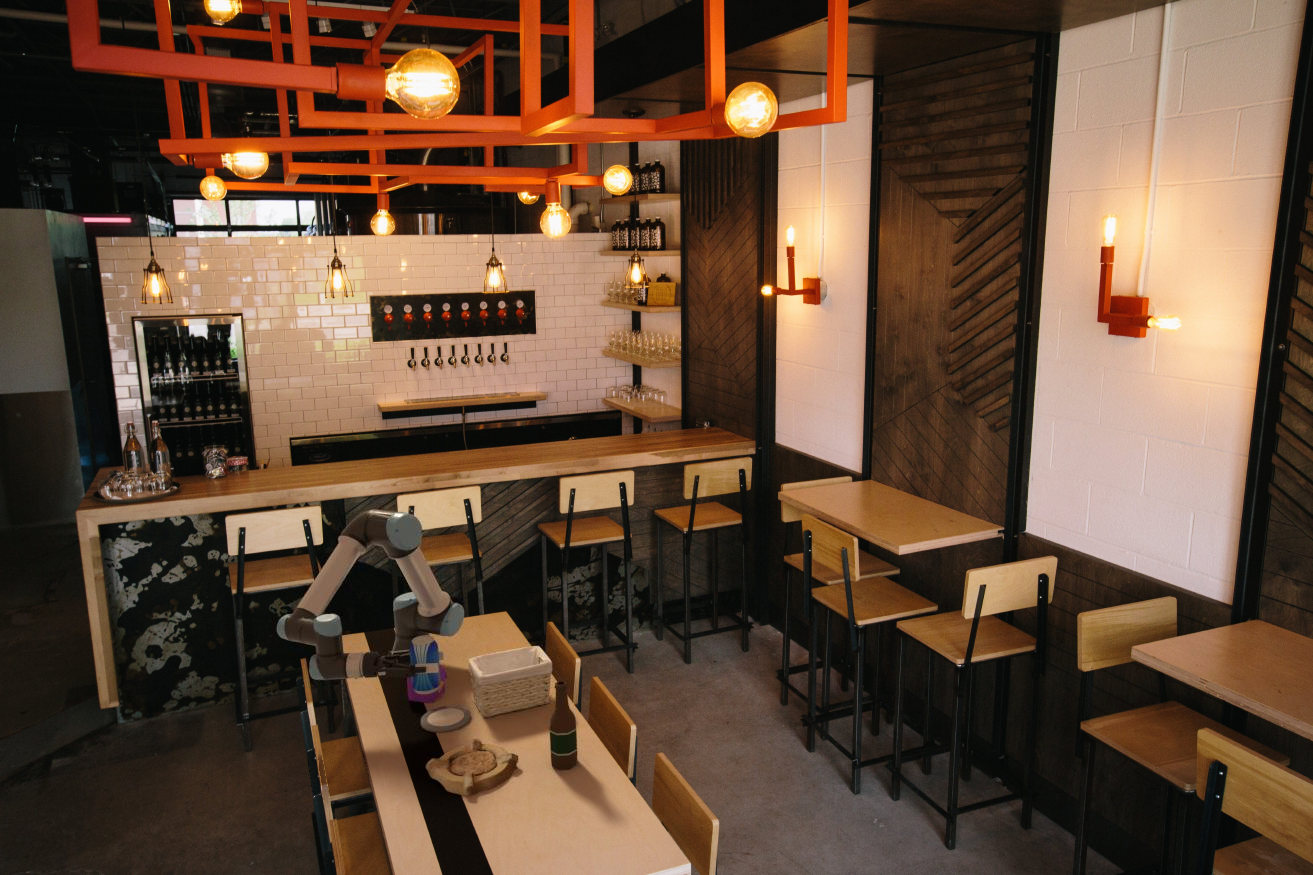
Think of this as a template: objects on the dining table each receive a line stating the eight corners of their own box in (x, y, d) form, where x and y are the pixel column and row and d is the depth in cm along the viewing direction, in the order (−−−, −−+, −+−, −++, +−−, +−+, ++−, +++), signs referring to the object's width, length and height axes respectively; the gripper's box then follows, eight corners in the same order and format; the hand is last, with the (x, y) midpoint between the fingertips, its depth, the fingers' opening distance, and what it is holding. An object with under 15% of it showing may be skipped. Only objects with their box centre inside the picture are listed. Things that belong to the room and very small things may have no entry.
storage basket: (540, 684, 291) (538, 642, 289) (555, 704, 277) (553, 661, 274) (469, 700, 281) (466, 657, 279) (481, 722, 267) (478, 677, 264)
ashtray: (441, 807, 224) (439, 789, 223) (420, 763, 245) (419, 747, 244) (528, 781, 235) (528, 764, 234) (501, 741, 256) (501, 725, 255)
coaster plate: (425, 709, 275) (425, 706, 275) (473, 706, 276) (473, 703, 276) (416, 733, 260) (416, 730, 260) (467, 730, 262) (467, 727, 261)
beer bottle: (583, 758, 245) (579, 678, 241) (571, 772, 238) (567, 690, 234) (558, 753, 248) (554, 674, 243) (545, 768, 240) (541, 687, 236)
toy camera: (452, 685, 292) (450, 657, 290) (438, 705, 278) (436, 675, 276) (421, 684, 293) (419, 656, 291) (405, 704, 279) (403, 675, 278)
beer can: (415, 683, 269) (411, 634, 266) (443, 682, 270) (439, 633, 267) (409, 696, 261) (405, 645, 258) (438, 694, 261) (434, 644, 259)
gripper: (374, 661, 274) (447, 658, 275) (355, 692, 253) (434, 688, 254) (372, 639, 272) (445, 635, 273) (353, 668, 252) (433, 664, 253)
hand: (440, 661), depth 264 cm, fingers closed on beer can, 8 cm apart
